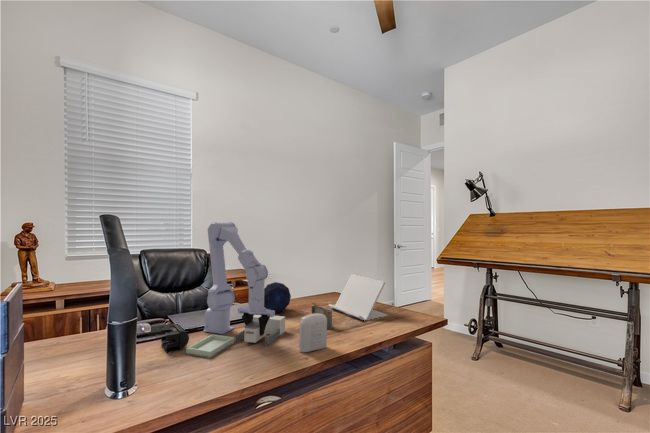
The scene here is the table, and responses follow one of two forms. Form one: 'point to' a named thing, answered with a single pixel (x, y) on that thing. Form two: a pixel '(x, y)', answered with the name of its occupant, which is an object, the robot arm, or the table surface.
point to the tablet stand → (360, 298)
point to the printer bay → (269, 328)
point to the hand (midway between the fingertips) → (255, 334)
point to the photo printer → (312, 332)
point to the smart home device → (158, 329)
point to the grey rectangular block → (253, 332)
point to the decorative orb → (276, 297)
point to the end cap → (174, 338)
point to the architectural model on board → (325, 312)
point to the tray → (210, 346)
